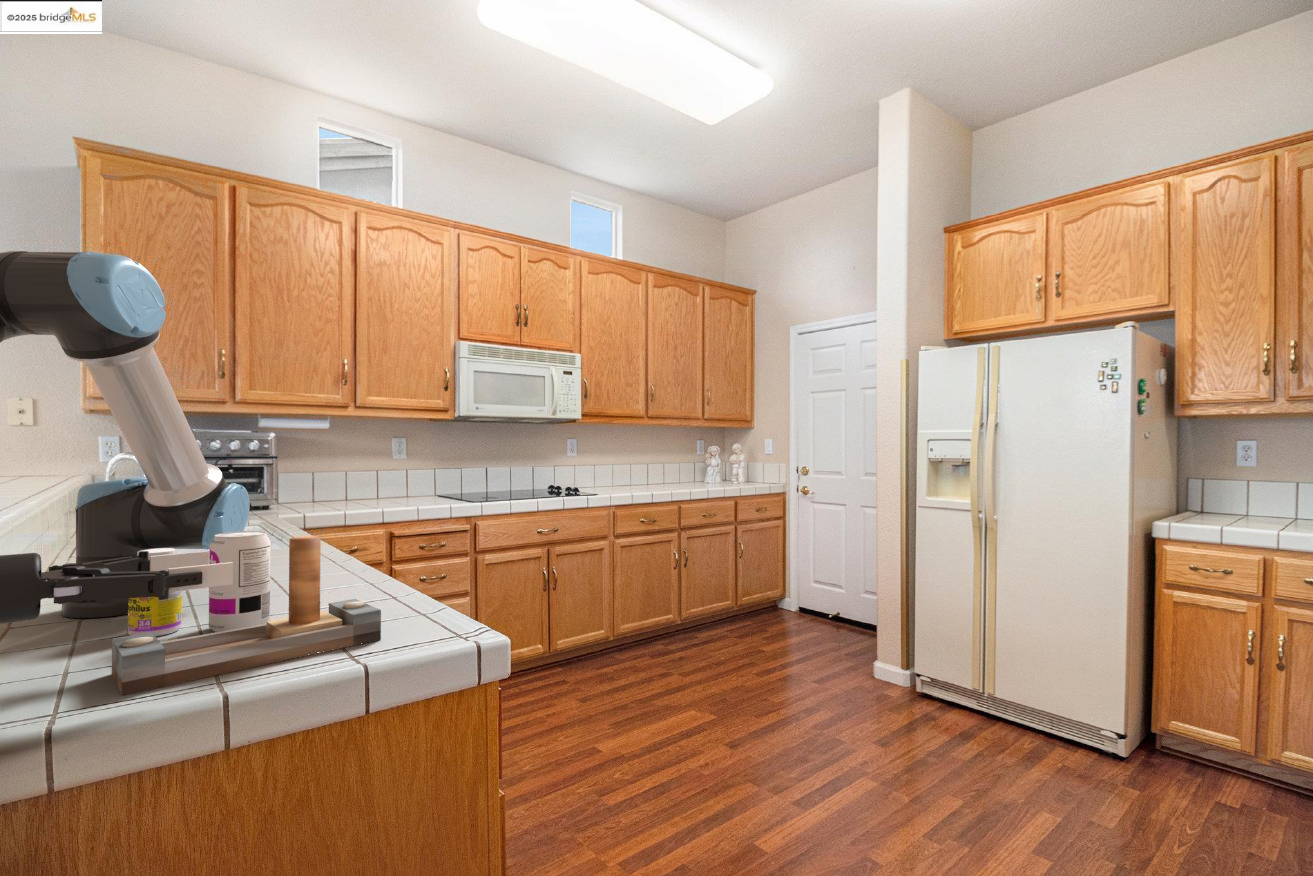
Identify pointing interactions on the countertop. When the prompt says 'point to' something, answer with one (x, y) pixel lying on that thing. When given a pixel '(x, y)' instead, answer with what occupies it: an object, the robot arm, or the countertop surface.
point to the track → (232, 649)
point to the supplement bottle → (155, 609)
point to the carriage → (303, 592)
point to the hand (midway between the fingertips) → (220, 566)
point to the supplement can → (241, 581)
